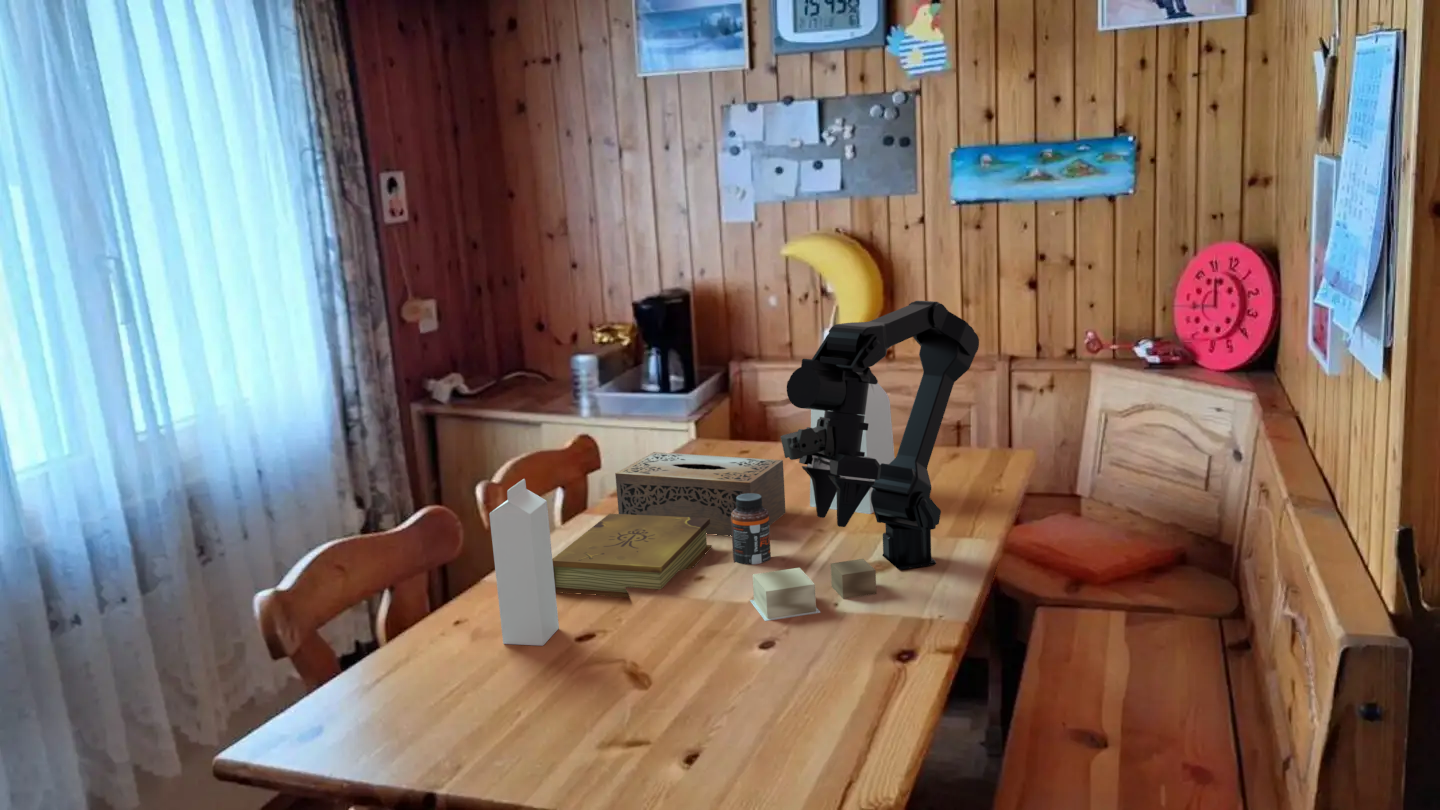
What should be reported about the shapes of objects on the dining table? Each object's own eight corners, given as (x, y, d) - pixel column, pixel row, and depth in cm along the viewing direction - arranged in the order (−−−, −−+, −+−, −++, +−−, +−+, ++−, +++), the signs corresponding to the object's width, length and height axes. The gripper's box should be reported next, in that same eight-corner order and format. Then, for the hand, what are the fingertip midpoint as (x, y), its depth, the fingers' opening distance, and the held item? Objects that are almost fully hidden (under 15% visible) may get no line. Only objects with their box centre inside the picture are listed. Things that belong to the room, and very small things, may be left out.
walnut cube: (864, 590, 178) (863, 558, 177) (876, 602, 173) (875, 569, 172) (832, 595, 177) (830, 563, 176) (843, 608, 172) (842, 574, 171)
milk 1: (502, 644, 166) (485, 490, 161) (520, 626, 172) (503, 477, 167) (544, 646, 165) (527, 491, 160) (560, 628, 171) (544, 477, 166)
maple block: (800, 593, 174) (799, 567, 173) (816, 611, 168) (814, 584, 167) (754, 600, 173) (752, 574, 172) (767, 618, 166) (765, 591, 165)
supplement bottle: (768, 572, 187) (764, 502, 185) (730, 572, 188) (726, 502, 186) (774, 559, 193) (770, 490, 190) (737, 558, 194) (733, 490, 192)
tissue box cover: (785, 514, 216) (782, 460, 214) (753, 540, 203) (750, 482, 201) (657, 503, 227) (653, 452, 225) (619, 527, 214) (615, 473, 212)
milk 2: (897, 495, 222) (893, 356, 216) (870, 514, 212) (865, 368, 207) (838, 488, 228) (833, 353, 222) (809, 506, 219) (803, 364, 213)
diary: (607, 545, 206) (605, 513, 205) (711, 551, 200) (710, 518, 199) (548, 594, 185) (545, 559, 183) (663, 602, 179) (660, 565, 178)
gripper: (772, 403, 179) (759, 507, 179) (810, 410, 161) (795, 526, 161) (844, 411, 182) (830, 515, 182) (888, 419, 163) (874, 534, 164)
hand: (830, 522), depth 172 cm, fingers open, 9 cm apart
